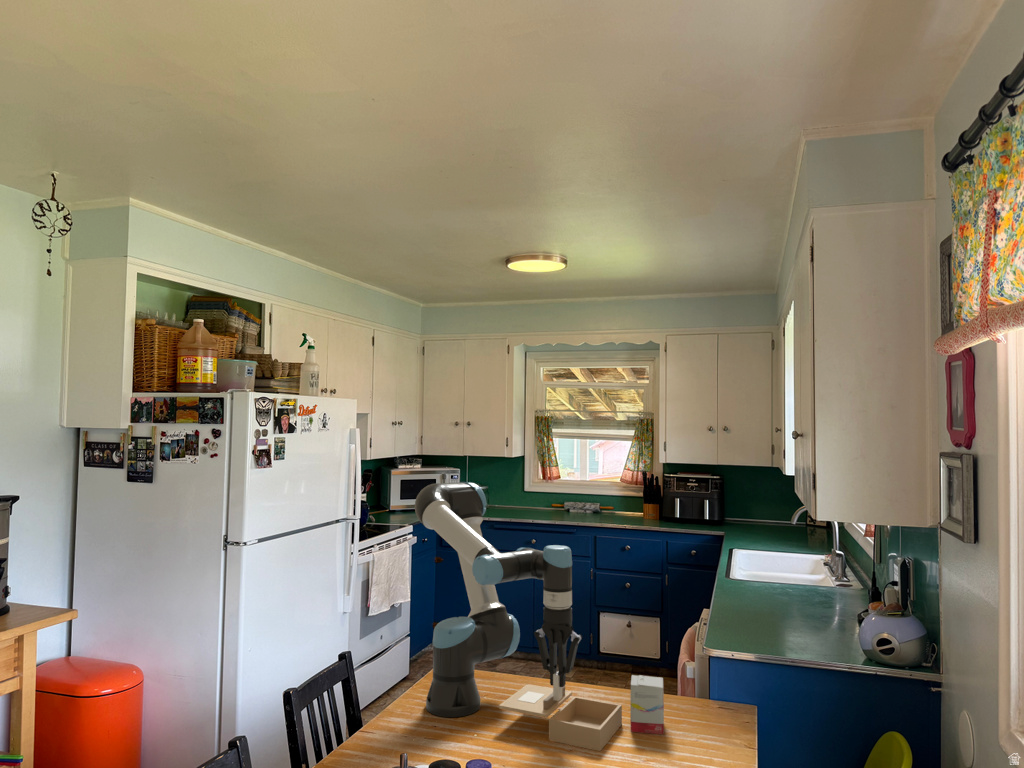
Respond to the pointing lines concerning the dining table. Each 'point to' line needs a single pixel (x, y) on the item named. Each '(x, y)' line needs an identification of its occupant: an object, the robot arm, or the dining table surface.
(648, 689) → the ink box
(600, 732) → the box
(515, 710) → the lid
